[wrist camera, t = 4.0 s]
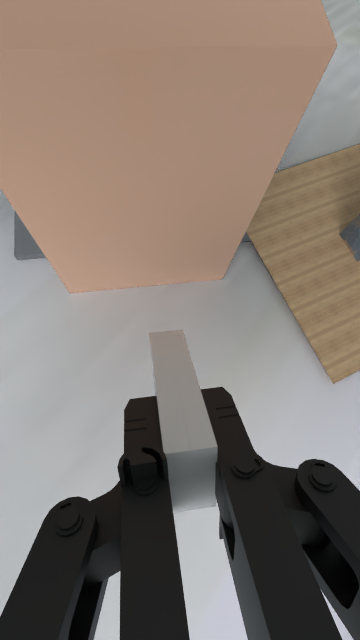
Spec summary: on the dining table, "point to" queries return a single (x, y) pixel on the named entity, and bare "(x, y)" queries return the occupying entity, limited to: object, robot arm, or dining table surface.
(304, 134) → the dining table surface
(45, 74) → the tile
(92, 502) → the robot arm
